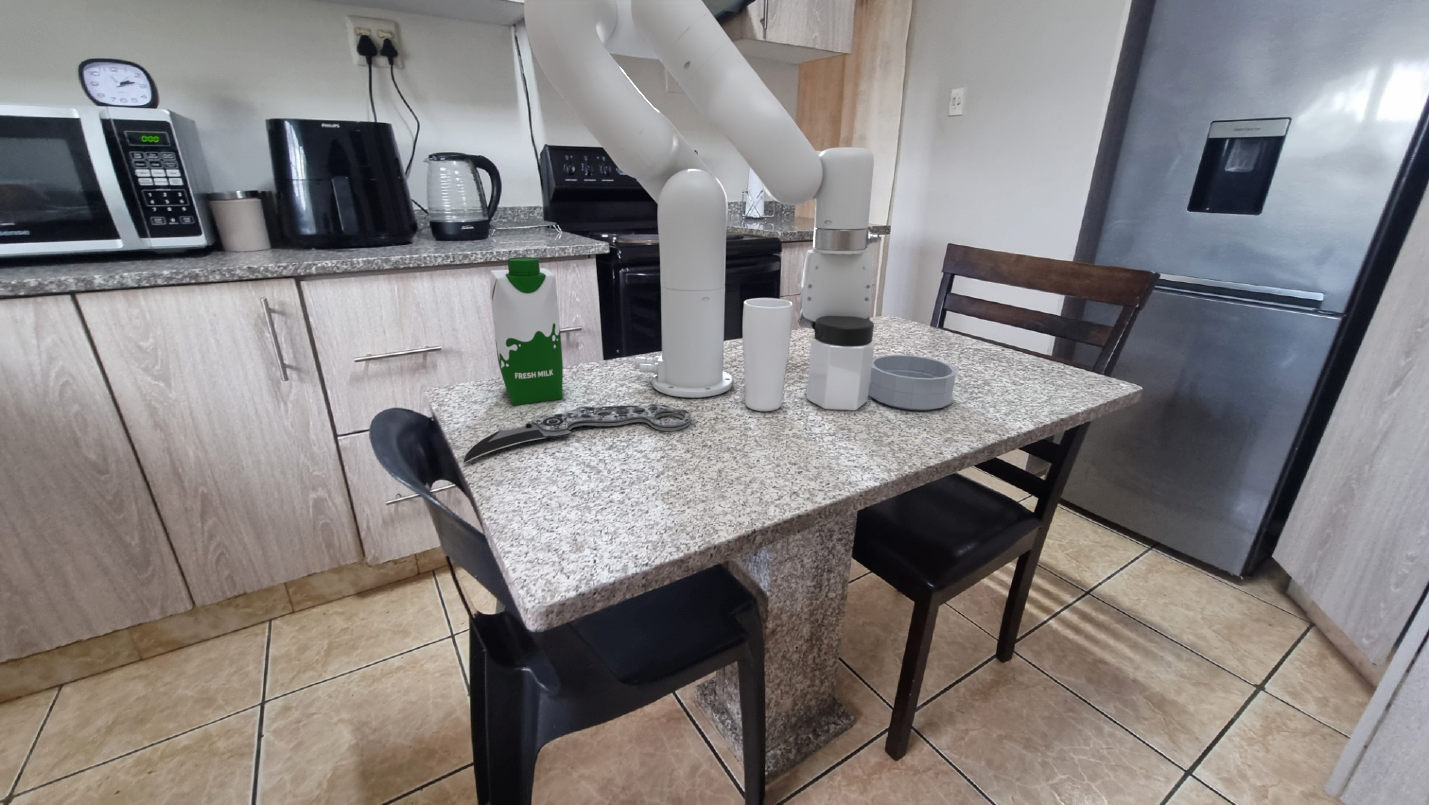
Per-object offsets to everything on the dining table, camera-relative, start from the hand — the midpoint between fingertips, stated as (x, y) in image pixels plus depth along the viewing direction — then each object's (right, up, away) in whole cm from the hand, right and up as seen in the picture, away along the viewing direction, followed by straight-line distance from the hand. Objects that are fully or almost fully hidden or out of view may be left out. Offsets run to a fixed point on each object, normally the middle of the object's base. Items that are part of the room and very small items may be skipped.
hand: (830, 363), depth 90 cm
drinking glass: (-11, -7, -6) cm, 14 cm away
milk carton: (-45, -5, -3) cm, 45 cm away
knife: (-35, -10, -16) cm, 40 cm away
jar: (0, -6, -4) cm, 7 cm away
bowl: (+11, -5, -2) cm, 13 cm away
